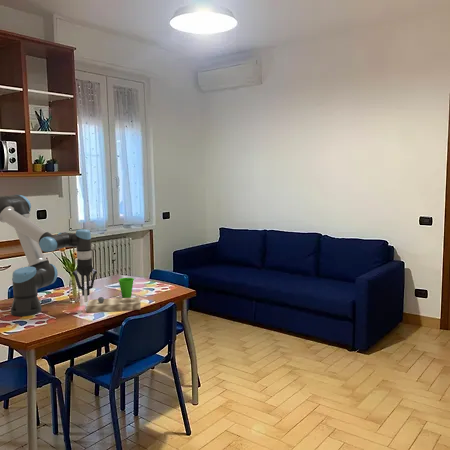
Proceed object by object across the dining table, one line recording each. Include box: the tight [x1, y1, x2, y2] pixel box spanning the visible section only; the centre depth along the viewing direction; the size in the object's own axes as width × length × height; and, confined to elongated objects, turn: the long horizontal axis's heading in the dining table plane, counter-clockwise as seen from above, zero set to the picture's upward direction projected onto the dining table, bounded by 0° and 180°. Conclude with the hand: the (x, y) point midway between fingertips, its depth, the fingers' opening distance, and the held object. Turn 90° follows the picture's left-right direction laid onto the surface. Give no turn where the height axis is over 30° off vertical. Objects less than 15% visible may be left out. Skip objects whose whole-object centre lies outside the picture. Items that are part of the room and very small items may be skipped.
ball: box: [98, 296, 105, 303], centre depth 253 cm, size 3×3×3 cm
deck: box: [86, 296, 142, 313], centre depth 255 cm, size 28×12×4 cm, turn 100°
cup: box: [118, 277, 135, 298], centre depth 275 cm, size 9×9×11 cm
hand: (86, 301), depth 251 cm, fingers closed
